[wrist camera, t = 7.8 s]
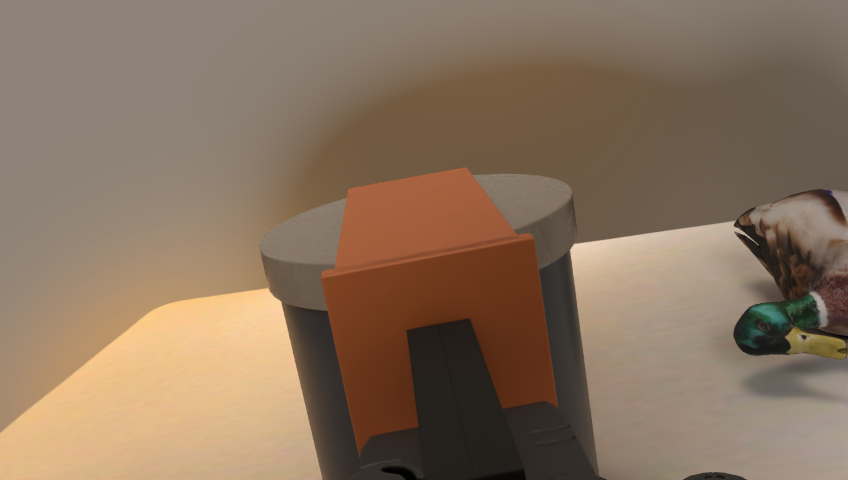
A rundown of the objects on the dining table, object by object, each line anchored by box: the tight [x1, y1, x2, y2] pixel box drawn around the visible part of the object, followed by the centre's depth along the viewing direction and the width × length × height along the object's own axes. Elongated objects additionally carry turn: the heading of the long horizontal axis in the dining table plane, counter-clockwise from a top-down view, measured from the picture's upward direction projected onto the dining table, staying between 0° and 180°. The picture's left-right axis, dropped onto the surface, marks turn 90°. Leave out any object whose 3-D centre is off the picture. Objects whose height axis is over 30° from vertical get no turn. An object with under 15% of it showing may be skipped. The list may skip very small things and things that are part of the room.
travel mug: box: [259, 174, 599, 480], centre depth 28 cm, size 11×11×14 cm
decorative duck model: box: [734, 189, 848, 359], centre depth 43 cm, size 15×8×15 cm
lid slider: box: [321, 168, 558, 458], centre depth 23 cm, size 11×5×5 cm, turn 4°
